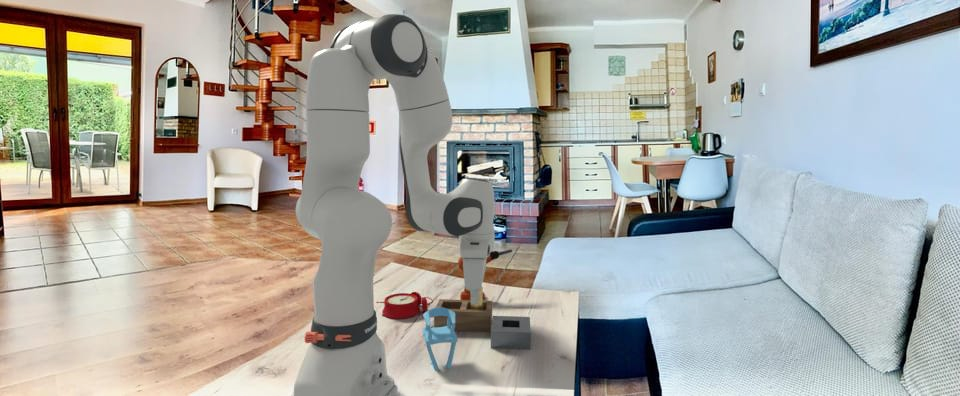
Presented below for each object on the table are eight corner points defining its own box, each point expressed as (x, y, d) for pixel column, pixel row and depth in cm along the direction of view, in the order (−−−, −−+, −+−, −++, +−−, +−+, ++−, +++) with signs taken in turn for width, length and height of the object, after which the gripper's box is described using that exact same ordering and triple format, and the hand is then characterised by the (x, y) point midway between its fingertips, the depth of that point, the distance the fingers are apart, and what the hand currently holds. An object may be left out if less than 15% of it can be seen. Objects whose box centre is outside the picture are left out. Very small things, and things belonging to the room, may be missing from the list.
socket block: (530, 353, 101) (530, 332, 101) (490, 352, 102) (490, 331, 101) (529, 336, 110) (529, 316, 109) (492, 335, 111) (492, 315, 110)
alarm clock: (372, 298, 126) (420, 278, 133) (378, 318, 128) (425, 297, 135) (385, 310, 117) (435, 288, 124) (391, 331, 119) (440, 308, 126)
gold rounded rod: (482, 327, 113) (482, 289, 111) (470, 327, 113) (470, 288, 112) (483, 322, 116) (482, 285, 114) (471, 322, 116) (471, 284, 115)
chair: (424, 376, 91) (423, 320, 90) (420, 357, 99) (419, 305, 98) (461, 372, 93) (461, 317, 92) (454, 353, 101) (454, 302, 100)
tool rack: (490, 335, 110) (490, 312, 110) (434, 333, 111) (433, 310, 111) (492, 322, 118) (492, 300, 117) (439, 320, 119) (439, 299, 119)
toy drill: (519, 289, 140) (514, 243, 137) (464, 305, 133) (458, 257, 130) (512, 284, 145) (507, 239, 142) (458, 300, 137) (452, 253, 134)
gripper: (468, 233, 122) (468, 282, 124) (459, 252, 102) (459, 310, 104) (491, 234, 122) (491, 283, 123) (486, 253, 101) (486, 311, 103)
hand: (476, 296), depth 113 cm, fingers open, 8 cm apart
